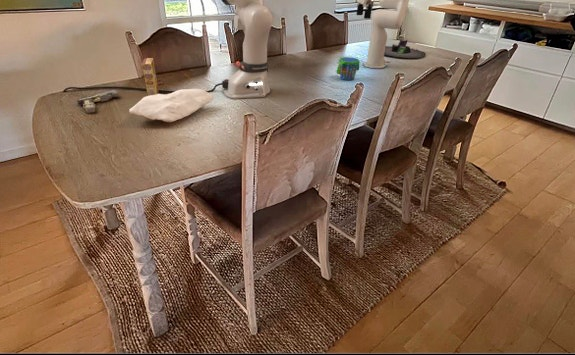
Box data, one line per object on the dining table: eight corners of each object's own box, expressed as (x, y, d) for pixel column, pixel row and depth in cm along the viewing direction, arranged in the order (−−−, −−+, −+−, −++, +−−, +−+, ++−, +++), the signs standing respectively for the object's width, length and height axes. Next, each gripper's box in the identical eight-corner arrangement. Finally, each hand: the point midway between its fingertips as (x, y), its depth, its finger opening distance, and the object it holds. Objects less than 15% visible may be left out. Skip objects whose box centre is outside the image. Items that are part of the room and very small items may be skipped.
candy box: (157, 97, 164) (152, 63, 155) (147, 98, 163) (141, 63, 155) (158, 91, 171) (153, 57, 163) (149, 91, 170) (143, 58, 162)
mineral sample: (436, 54, 249) (439, 40, 244) (402, 60, 231) (404, 45, 227) (396, 47, 273) (398, 34, 269) (363, 52, 256) (364, 38, 252)
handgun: (128, 97, 156) (111, 87, 164) (86, 107, 144) (70, 97, 152) (129, 103, 157) (113, 94, 165) (88, 114, 146) (72, 103, 154)
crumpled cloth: (117, 110, 146) (113, 90, 140) (195, 92, 166) (194, 73, 160) (143, 139, 134) (140, 118, 128) (223, 116, 154) (224, 96, 148)
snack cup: (351, 73, 205) (353, 55, 200) (364, 79, 198) (367, 60, 193) (329, 77, 198) (331, 58, 192) (342, 83, 191) (344, 63, 185)
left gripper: (264, 7, 203) (264, 33, 211) (231, 10, 193) (233, 37, 200) (270, 9, 199) (270, 35, 207) (237, 12, 189) (239, 39, 196)
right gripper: (354, -25, 177) (349, 13, 186) (368, -22, 163) (362, 19, 172) (368, -24, 178) (363, 13, 188) (383, -21, 164) (377, 19, 174)
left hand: (252, 36), depth 203 cm, fingers closed on canister, 5 cm apart
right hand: (363, 16), depth 180 cm, fingers open, 9 cm apart
